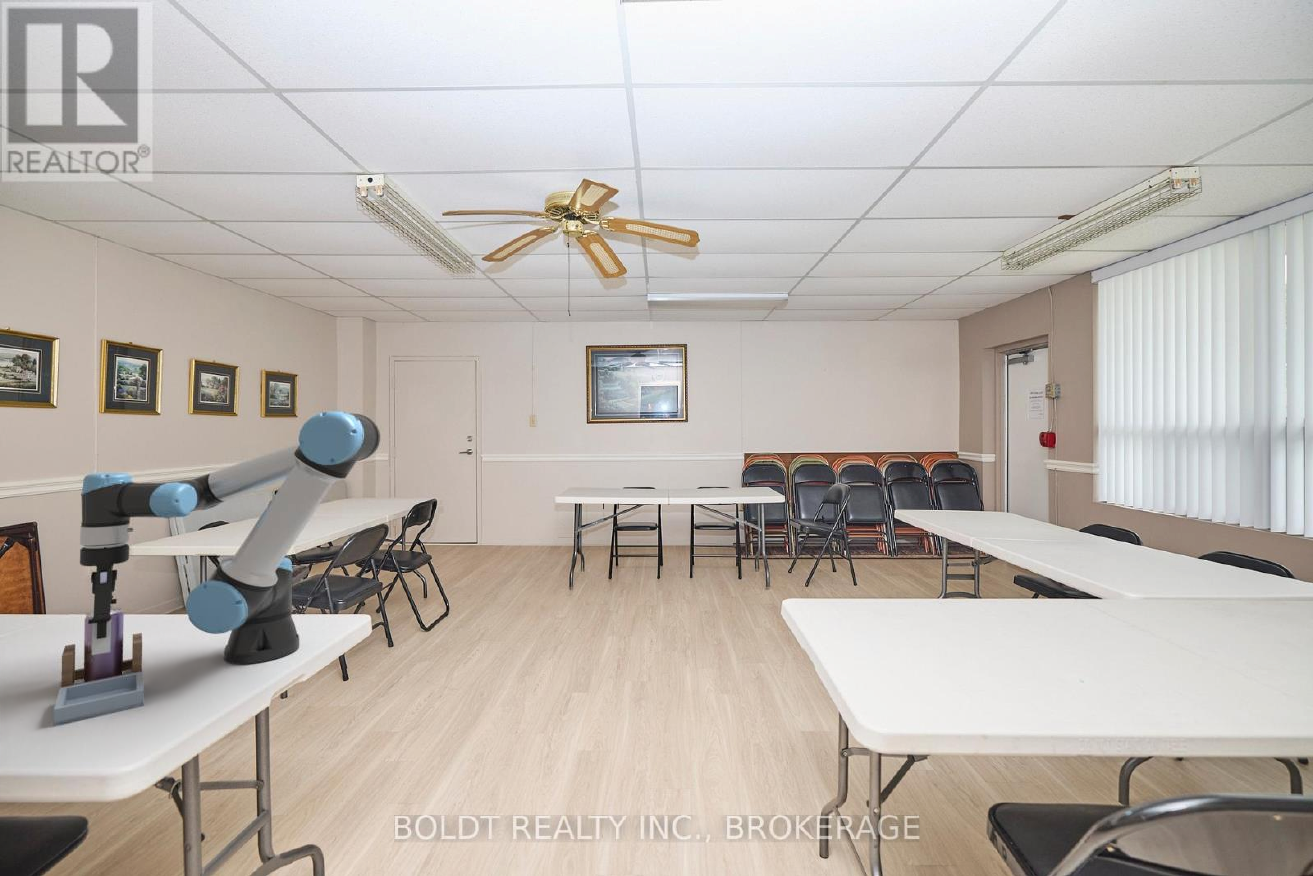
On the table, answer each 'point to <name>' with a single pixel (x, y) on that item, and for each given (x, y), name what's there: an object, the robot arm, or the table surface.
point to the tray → (99, 698)
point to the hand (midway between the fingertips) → (102, 644)
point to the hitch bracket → (72, 675)
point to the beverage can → (104, 662)
